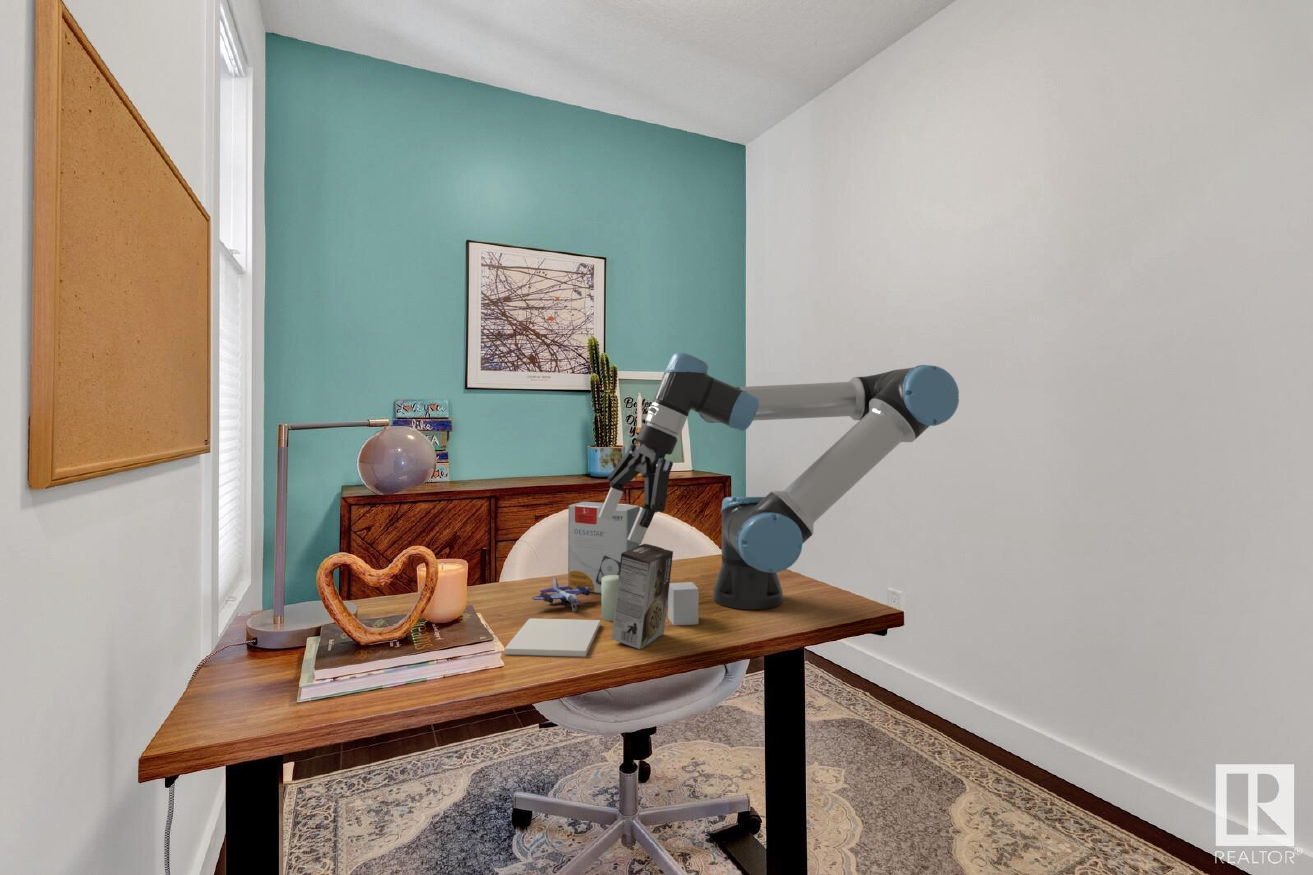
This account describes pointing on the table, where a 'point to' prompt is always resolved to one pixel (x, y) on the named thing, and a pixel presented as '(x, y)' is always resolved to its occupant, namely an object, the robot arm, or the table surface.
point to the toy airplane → (563, 594)
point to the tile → (554, 637)
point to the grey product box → (642, 595)
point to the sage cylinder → (608, 596)
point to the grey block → (683, 603)
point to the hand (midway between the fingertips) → (618, 529)
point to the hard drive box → (597, 542)
